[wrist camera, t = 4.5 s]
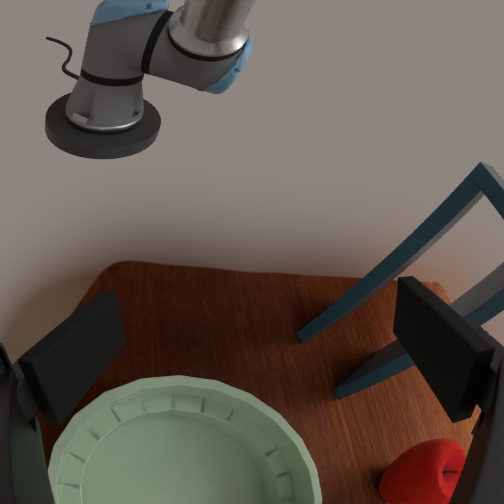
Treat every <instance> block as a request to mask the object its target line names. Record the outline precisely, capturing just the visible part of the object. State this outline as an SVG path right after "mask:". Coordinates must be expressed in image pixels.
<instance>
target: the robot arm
mask: <svg viewBox="0 0 504 504" xmlns="http://www.w3.org/2000/svg"><path fill="white" fill-rule="evenodd" d="M255 2H256V0H185V2H184V5H183V6H181V7H180V8H178V9H177V10H176V11H175V12H171V11H168V10H167V9H168V8H169V6H168V2H167V1H165V0H104V1H102V2H101V3H100V4H99V5H98V6H97V8H96V10H95V13H94V16H93V19H92V22H91V23H90V29H89V33H88V38H87V43H86V47H85V52H84V57H83V62H82V68H81V73H80V77H79V76H78V75H76V74H73V73H71V72H69V71H68V70H67V69H66V68H65V66H66V65H67V63H68V62H69V61H70V59H71V56H72V49H71V47H70V46H69V45H67V44H66V43H64V42H62V41H60V40H57V39H54V38H50V37H46V39H47V40H50V41H54V42H57V43H59V44H61V45H63V46H65V47H66V48H67V49H68V50H69V56H68V58H67V60H66V61H65V62H64V63H63V65H62V70H63V72H64V73H65V74H67V75H69V76H71V77H73V78H75V79H77V80H78V81H77V83H76V85H75V87H74V89H73V91H72V93H71V95H70V97H69V99H68V102H67V104H66V111H65V117H66V120H67V121H68V123H69V124H70V125H72V126H73V127H75V128H76V129H78V130H81V131H84V132H87V133H92V134H99V135H111V134H119V133H124V132H127V131H129V130H132V129H133V128H135V127H136V126H138V125H139V123H140V122H141V119H142V116H143V112H144V105H143V91H142V80H143V76H144V73H145V74H149V75H153V76H157V77H160V78H164V79H167V80H170V81H174V82H177V83H180V84H183V85H186V86H190V87H192V88H195V89H197V90H199V91H206V92H209V93H213V94H221V93H223V92H225V91H226V90H227V89H228V88H229V87H230V86H231V85H232V83H233V82H234V80H235V79H236V78H237V76H238V74H239V72H240V71H241V69H242V68H243V67H244V65H245V63H246V61H247V59H248V57H249V55H250V53H251V50H252V47H253V43H254V41H253V39H252V37H250V36H249V35H248V33H249V29H248V25H247V23H246V21H245V20H246V18H247V16H248V14H249V13H250V10H251V9H252V7H253V5H254V3H255ZM393 333H394V334H395V335H396V337H397V338H398V340H399V341H400V343H401V344H402V346H403V347H404V348H405V350H406V351H407V353H408V354H409V356H410V357H411V359H412V360H413V362H414V363H415V365H416V366H417V368H418V369H419V371H420V372H421V374H422V375H423V377H424V378H425V380H426V381H427V383H428V385H429V386H430V388H431V389H432V391H433V392H434V394H435V395H436V397H437V399H438V400H439V402H440V403H441V405H442V407H443V408H444V410H445V411H446V413H447V415H448V416H449V418H450V420H451V421H452V423H455V422H458V421H461V420H464V419H467V418H470V417H471V416H472V413H473V411H474V409H475V406H476V404H478V406H479V407H480V409H481V410H482V411H481V413H480V415H479V418H478V420H477V422H476V424H475V426H474V428H473V431H472V433H471V434H472V435H473V439H472V442H471V445H470V448H469V451H468V455H467V457H466V460H465V463H464V466H463V469H462V472H461V474H460V477H459V479H458V482H457V484H456V487H455V489H454V492H453V494H452V496H451V499H450V501H449V503H448V504H504V347H503V346H502V345H501V344H500V343H499V342H498V341H497V340H495V339H494V338H493V337H492V336H489V333H488V332H486V331H485V330H483V328H482V327H481V326H479V325H478V324H477V323H476V322H474V321H472V320H469V319H467V318H463V317H462V316H460V315H459V314H458V313H457V312H456V311H455V310H453V309H452V308H451V307H450V306H449V305H447V304H446V303H445V302H444V301H443V300H442V299H440V298H439V297H438V296H437V295H436V294H434V293H433V292H432V291H431V290H429V289H428V288H427V287H426V286H425V285H423V284H422V283H421V282H420V281H418V280H417V279H416V278H415V277H413V276H409V277H398V287H397V299H396V309H395V318H394V326H393ZM126 342H127V340H126V336H125V332H124V328H123V324H122V320H121V316H120V311H119V307H118V302H117V298H116V293H115V291H102V292H100V293H99V294H98V295H97V296H95V297H94V298H93V299H91V300H90V301H89V302H87V303H86V304H85V305H84V306H82V307H81V308H80V309H79V310H77V311H76V312H75V313H73V314H72V315H71V316H70V317H68V318H67V319H66V320H65V321H63V322H62V323H61V324H60V325H58V326H57V327H56V328H55V329H53V330H52V331H51V332H50V333H48V334H47V335H46V336H45V337H44V338H43V339H41V340H40V341H39V342H38V343H36V344H35V345H34V346H33V347H32V348H31V349H29V350H28V351H27V352H26V353H24V355H22V356H21V357H20V358H19V359H17V361H16V362H15V363H14V364H13V365H11V362H10V360H9V358H8V355H7V353H6V351H5V348H4V345H3V344H2V343H0V504H55V500H54V497H53V493H52V489H51V485H50V480H49V476H48V471H47V466H46V461H45V456H44V450H43V444H42V437H41V430H40V423H39V420H38V418H37V417H36V414H37V413H38V412H39V411H40V410H41V412H42V414H43V416H44V418H45V420H46V421H47V422H49V423H52V424H55V425H58V426H62V425H63V424H64V422H65V421H66V420H67V418H68V417H69V416H70V414H71V413H72V412H73V410H74V409H75V408H76V406H77V405H78V404H79V402H80V401H81V400H82V398H83V397H84V396H85V394H86V393H87V392H88V391H89V389H90V388H91V387H92V385H93V384H94V383H95V382H96V380H97V379H98V378H99V376H100V375H101V374H102V373H103V371H104V370H105V369H106V367H107V366H108V365H109V364H110V362H111V361H112V360H113V359H114V357H115V356H116V355H117V353H118V352H119V351H120V350H121V348H122V347H123V346H124V345H125V343H126Z"/></svg>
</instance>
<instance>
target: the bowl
mask: <svg viewBox="0 0 504 504" xmlns="http://www.w3.org/2000/svg"><path fill="white" fill-rule="evenodd" d="M48 476H49V480H50V485H51V489H52V493H53V497H54V500H55V504H322V494H321V489H320V484H319V479H318V474H317V469H316V466H315V464H314V462H313V460H312V458H311V456H310V454H309V452H308V450H307V448H306V446H305V444H304V442H303V440H301V438H300V436H299V435H298V434H297V433H296V432H295V431H294V430H293V429H292V427H291V426H290V425H289V424H288V423H287V422H286V421H285V419H284V418H283V417H282V416H281V415H280V414H279V413H278V412H276V411H275V410H273V409H272V408H270V407H269V406H268V405H266V404H265V403H263V402H262V401H260V400H259V399H258V398H256V397H255V396H253V395H252V394H250V393H247V392H245V391H242V390H240V389H237V388H235V387H232V386H230V385H227V384H225V383H222V382H220V381H217V380H210V379H203V378H196V377H189V376H183V375H174V376H164V377H153V378H141V379H138V380H136V381H133V382H130V383H128V384H125V385H122V386H120V387H117V388H114V389H111V390H109V391H106V392H104V393H103V394H101V395H100V396H99V397H97V398H96V399H95V400H93V401H92V402H91V403H89V404H88V405H87V406H85V407H84V408H83V409H81V410H80V411H79V412H77V413H76V414H75V415H74V416H73V417H72V419H71V420H70V422H69V423H68V425H67V426H66V428H65V429H64V431H63V432H62V434H61V435H60V437H59V438H58V440H57V441H56V443H55V444H54V447H53V450H52V454H51V458H50V462H49V467H48Z"/></svg>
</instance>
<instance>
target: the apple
mask: <svg viewBox="0 0 504 504" xmlns="http://www.w3.org/2000/svg"><path fill="white" fill-rule="evenodd" d="M465 460H466V457H465V454H464V451H463V449H462V447H461V445H460V444H459V443H458V442H457V441H456V440H453V439H433V440H428V441H425V442H421V443H419V444H417V445H415V446H413V447H412V448H410V449H408V450H407V451H405V452H404V453H402V454H401V455H400V456H399V457H398V458H397V459H396V460H395V461H394V462H392V463H391V464H390V465H389V466H388V467H387V469H386V470H385V471H384V473H383V475H382V478H381V480H380V484H379V493H380V494H381V496H382V498H383V499H384V500H385V501H386V502H387V503H389V504H448V503H449V501H450V499H451V496H452V494H453V492H454V489H455V487H456V484H457V482H458V479H459V477H460V474H461V472H462V469H463V466H464V463H465Z"/></svg>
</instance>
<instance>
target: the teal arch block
mask: <svg viewBox="0 0 504 504" xmlns="http://www.w3.org/2000/svg"><path fill="white" fill-rule="evenodd" d="M484 195H486V197H487V198H488V199H489V201H490V202H491V203H492V204H493V206H494V207H495V208H496V210H497V211H498V212H499V214H500V215H501V217H502V218H503V219H504V180H503V179H502V178H501V176H499V174H498V173H497V172H496V171H495V169H494V168H493V167H492V166H489V165H486V164H484V163H482V162H480V163H479V164H478V165H477V166H476V167H475V168H474V169H473V171H472V172H471V173H470V174H469V175H468V176H467V177H466V178H465V179H464V180H463V182H462V183H461V184H460V185H459V186H458V187H457V188H456V189H455V190H454V191H453V192H452V194H450V196H449V197H448V198H447V199H446V200H445V201H444V202H443V203H442V204H441V205H440V206H439V207H438V208H437V209H436V210H435V211H434V212H433V213H432V214H431V215H430V216H429V217H428V218H427V219H426V220H425V221H424V222H423V223H422V224H421V225H420V226H419V227H418V228H417V229H416V230H415V231H414V232H413V233H412V234H411V235H409V236H408V237H407V238H406V239H405V240H404V241H403V242H402V243H401V244H400V245H399V246H398V247H397V248H396V249H395V250H394V251H393V252H391V253H390V254H389V255H388V256H387V257H386V258H385V259H384V260H383V261H382V262H381V263H380V264H378V265H377V266H376V267H375V268H374V269H373V270H372V271H370V272H369V273H368V274H367V275H366V276H365V277H364V278H363V279H361V280H360V281H359V282H358V283H357V284H356V285H355V286H353V287H352V288H351V289H350V290H349V291H348V292H346V293H345V294H344V295H343V296H342V297H340V298H339V299H338V300H337V301H336V302H334V303H333V304H332V305H331V306H330V307H328V308H327V309H326V310H325V311H324V312H322V313H321V314H320V315H319V316H317V317H316V318H315V319H314V320H312V321H311V322H310V323H309V324H307V325H306V326H305V327H304V328H302V329H301V330H300V331H298V332H297V335H298V336H299V338H300V340H301V341H302V343H304V342H306V341H307V340H309V339H311V338H312V337H314V336H316V335H317V334H319V333H320V332H322V331H324V330H325V329H327V328H328V327H330V326H332V325H333V324H335V323H336V322H338V321H339V320H341V319H342V318H344V317H345V316H347V315H348V314H350V313H351V312H353V311H354V310H355V309H357V308H358V307H359V306H361V305H362V304H363V303H365V302H366V301H367V300H368V299H370V298H371V297H372V296H373V295H375V294H376V293H377V292H378V291H380V290H381V289H382V288H383V287H385V286H386V285H387V284H388V283H390V282H391V281H392V280H393V279H394V278H395V277H397V276H398V275H399V274H400V273H401V272H403V271H404V270H405V269H406V268H407V267H409V266H410V265H411V264H412V263H413V262H414V261H415V260H417V259H418V258H419V257H420V256H421V255H422V254H423V253H425V252H426V251H427V250H428V249H429V248H430V247H431V246H432V245H433V244H434V243H436V242H437V241H438V240H439V239H440V238H441V237H442V236H443V235H444V234H445V233H446V232H447V231H449V229H451V228H452V227H453V226H454V225H455V224H456V223H457V222H458V221H459V220H460V219H461V218H462V217H463V216H464V215H465V214H466V213H467V212H468V211H469V210H470V209H471V208H472V207H473V206H474V205H475V204H476V203H477V202H478V201H479V200H480V199H481V198H482V197H483V196H484ZM449 306H450V307H451V308H452V309H453V310H455V311H456V312H457V313H458V314H459V315H460V316H462V317H463V318H467V319H469V320H472V321H474V322H476V323H477V324H478V325H479V326H481V325H483V324H484V323H486V322H487V321H488V320H490V319H491V318H493V317H494V316H496V315H497V314H499V313H500V312H501V311H503V310H504V262H503V263H502V264H501V265H500V266H499V267H497V268H496V269H495V270H494V271H493V272H491V273H490V274H489V275H488V276H487V277H485V278H484V279H483V280H482V281H481V282H479V283H478V284H476V285H475V286H474V287H473V288H471V289H470V290H469V291H467V292H466V293H465V294H463V295H462V296H461V297H459V298H458V299H457V300H455V301H454V302H453V303H451V304H450V305H449ZM413 365H415V363H414V362H413V360H412V359H411V357H410V356H409V354H408V353H407V351H406V350H405V348H404V347H403V346H402V344H401V343H400V341H399V340H398V339H397V340H395V341H394V342H392V343H391V344H389V345H387V346H386V347H384V348H382V349H380V350H379V351H377V352H376V353H375V354H374V355H373V356H372V357H371V358H370V359H369V360H368V361H366V362H365V363H364V364H363V365H362V366H361V367H360V368H359V369H357V370H356V371H355V372H354V373H353V374H352V375H351V376H349V377H348V378H347V379H346V380H345V381H344V382H342V383H341V384H340V385H339V386H338V387H336V388H335V389H334V392H335V393H336V395H337V396H338V398H339V399H342V398H344V397H347V396H349V395H352V394H354V393H356V392H359V391H361V390H363V389H366V388H368V387H370V386H372V385H375V384H377V383H379V382H381V381H383V380H385V379H387V378H389V377H392V376H394V375H396V374H398V373H400V372H402V371H404V370H406V369H408V368H410V367H411V366H413Z"/></svg>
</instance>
